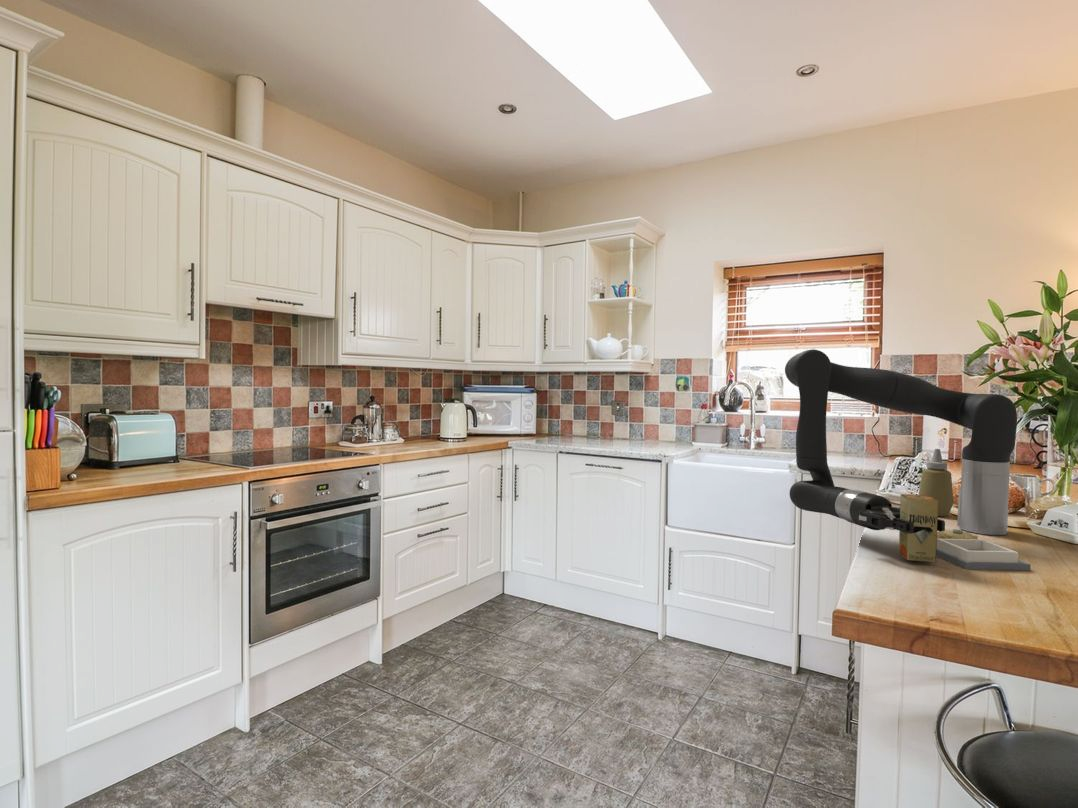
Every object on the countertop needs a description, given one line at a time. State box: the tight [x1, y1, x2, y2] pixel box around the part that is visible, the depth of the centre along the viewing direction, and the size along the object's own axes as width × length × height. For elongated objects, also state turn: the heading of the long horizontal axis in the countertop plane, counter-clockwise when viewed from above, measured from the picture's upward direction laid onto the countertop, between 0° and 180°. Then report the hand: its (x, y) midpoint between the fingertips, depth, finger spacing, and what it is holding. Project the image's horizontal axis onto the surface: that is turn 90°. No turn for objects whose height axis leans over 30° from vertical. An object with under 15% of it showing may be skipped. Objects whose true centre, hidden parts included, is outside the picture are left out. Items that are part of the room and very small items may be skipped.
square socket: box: [937, 538, 1019, 563], centre depth 116 cm, size 9×9×2 cm
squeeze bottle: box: [918, 448, 955, 517], centre depth 159 cm, size 8×8×18 cm
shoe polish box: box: [898, 493, 939, 563], centre depth 115 cm, size 5×5×12 cm
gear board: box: [936, 529, 1032, 571], centre depth 121 cm, size 20×12×4 cm, turn 178°
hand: (927, 527), depth 113 cm, fingers closed on shoe polish box, 6 cm apart
